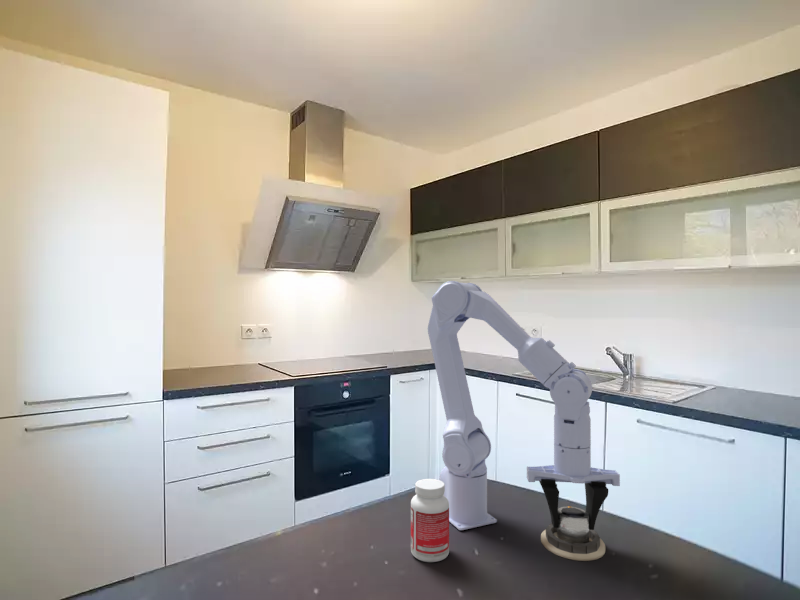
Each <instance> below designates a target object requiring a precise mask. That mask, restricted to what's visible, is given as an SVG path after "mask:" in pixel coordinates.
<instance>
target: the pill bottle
mask: <svg viewBox="0 0 800 600" xmlns="http://www.w3.org/2000/svg"><path fill="white" fill-rule="evenodd" d="M414 485H415V489H414V491H415V492H414V493H415V495H413V496H412V498H411V500H410V552H411V554H412V556H413V557H414V558H416V559H417V560H419V561H421V562H425V563H436V562H440V561H444V560H445V559H447V557H448V555H449V553H450V522H449V501H448V499H447V498H446V497H445V496H444V492H445V485H444V483H443V482H442V481H440V480H439V479H435V478H423V479H419V480H417V481H416V482H415V484H414Z"/></svg>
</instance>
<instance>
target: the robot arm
mask: <svg viewBox="0 0 800 600" xmlns="http://www.w3.org/2000/svg"><path fill="white" fill-rule="evenodd" d="M431 302H432V308H431V312H430V316H429V320H428V325H427V334H428V338H429V344H430V348H431V352H432V353H431V354H432V356H433V362H434V366H435V371H436V377H437V382H438V385H439V390H440V396H441V399H442V404H443V409H444V413H445V417H446V423H445V427H444V429H443V433H442V439H443V447H442V453H441V454H442V461H443V464H444V466H443V468H442V469H441V470H440V471H441V472H440V473H439V479H438V480H440V481H442V482H443V483H444V485H445V492H444V496H445V497H446V498H447V499H448V501H449V524H450V523H451V525H453V526H454V527H455V528H456V529H458V530H459V531H464V530H468V529H474V528H477V527H479V528H480V527H482V526H486V525H491V524H496V523H498V519H497V518H495V517H494V516H493V515H491V514H490V513H488V476H487V475H488V468H487V465H486V459H487V458H488V457H489V456H490V454H491V452H492V451H491V450H492V444H491V440H490V438H489V436H488V435H487V434H486V432H485V431H484V428H483V424H482V422H481V420H480V419H479V418H478V417H477V415H475V411H474V407H473V402H472V398H471V392H470V387H469V384H468V379H467V374H466V370H465V366H464V362H463V357H462V352H461V348H460V343H459V338H458V333H459V331H460V330H461V329H462V327H463V326H464V324H465V323H466V322H467V321H468V320H469V319H475V320H478V321H479V320H480V321H484V322H485V323H487V324H488V325H489V327H491V328H492V329H493V330H494V331H495V332H497V334H498V335H500V336H501V337H502V338H503V339H504V340H506V341H507V343H509V344H510V345H511V346H512V347H514V349H516V350H517V355H518V358H517V359H518V363H520V364H521V365H522V366H524V368H525V369H526V370H527V371H528V372H530V374H531V375H532V376H533V377H535V378H536V380H538V382H540V384H542V385H543V386H544V387H545V388H547V389H549V394H550V398H551V400H552V402H553V403H554V416H553V433H554V434H553V464H551V465H540V466H526V480H527V482H529V483H535V482H539V484H540V487H541V489H542V490H543V494H544V496H545V499H546V502H547V505H548V509H549V514H550V521H551V523H552V525H553V527H554V528H558V526H559V519H558V508H559V499H560V498H559V497H560V491H559V489H558V484H557V483H573V484H584V490H585V511H586V512H587V513H588V514H589V530H594V531H595V526H596V520H597V517H598V514H599V512H600V509H601V508H602V506H603V503H604V502H605V500H606V499H607V497H608V495H609V488H608V487H607V485H612V486H613V487H620V485H621V482H620V481H621V480H620V479H621V475H620V473H619V472H618V471H617V470H616V469H605V468H604V469H603V468H597V467H593V466H592V467H591V465H592V463H591V455H592V454H591V453H592V451H591V444H592V442H591V441H592V440H591V438H592V436H591V432H592V431H591V425H592V424H591V416H590V412H591V407H590V402H589V401H588V400H589V399H590V397H591V395H592V392H593V384H592V383H593V382H592V381H591V379H590V377H589V376H588V375H587V373H586V372H585V371H583V370H581V369H580V368H579V369H578V368H576V367H577V366H576V364H575V363H574V362H573V361H570V362H568V361H567V360H566V358H564V356H562V355H561V353H559V352H558V351H557V350H556V349H555V348H554V347H555V345H556V344H555V343H554V342H552V341H551V340H550V339H548V340H547V341H546V340H545V339H544V338H542V337H531V336H530V335H529V333H528V332H526V330H525V329H523V327H521V326H520V324H518V322H517V321H516V320H515V319H514V318H512V316H511V315H510V314H509V313H508V312H507V311H506V310H505V309H504V308H503V307H502V306H501V305H500V304H499V303H498V302H497V301H496V300H495V299H494V298H493V297H492V296H491V295H490V294H489V293H488V292H485V291H483V290H482V289H481V287H480V286H479V285H477V284H475V283H473V282H459V281H456V280H448V281H445V282H444V283H442V284H441V285H440V286H439V287H438V288H437V290H436V291H435V293H434V294H433V295H432V297H431ZM556 482H557V483H556Z"/></svg>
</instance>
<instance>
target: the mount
mask: <svg viewBox="0 0 800 600" xmlns="http://www.w3.org/2000/svg"><path fill="white" fill-rule="evenodd" d="M540 542H541V544H542V546H543V547H544V548H545V549H546V550H547V551H549V552H550V553H552V554H554V555H556V556H559V557H561V558H564V559H567V560H568V559H569V560H572V561H578V562H579V561H580V562H581V561H583V562H587V561H588V562H590V561H595V560H599V559H600V558H602V557H604V555H605V553H606V544H605V542H604V541H603V539H602V538H601V537H600V535H599V534H598V533H597V531H596V530H595V529H594V530H589V542H588V543H585V544H579V543H570V542H567V541H563V540H560V539H559V538H558V537H557V528H554V527H553V525H552V522H551V523H550V524H548V525H547V526H546V528H545V529H544V530H543V531H542V532H541V534H540Z"/></svg>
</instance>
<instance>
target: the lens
mask: <svg viewBox="0 0 800 600" xmlns="http://www.w3.org/2000/svg"><path fill="white" fill-rule="evenodd" d="M558 519H559V526H558V528H557V537H558V538H559V539H560V540H563V541H567V542H570V543H579V544H585V543H588V542H589V514H588V513H587V512H586V510H584V509H582V508H579V507H575V506H570V505H568V506H561V507H558Z"/></svg>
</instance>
